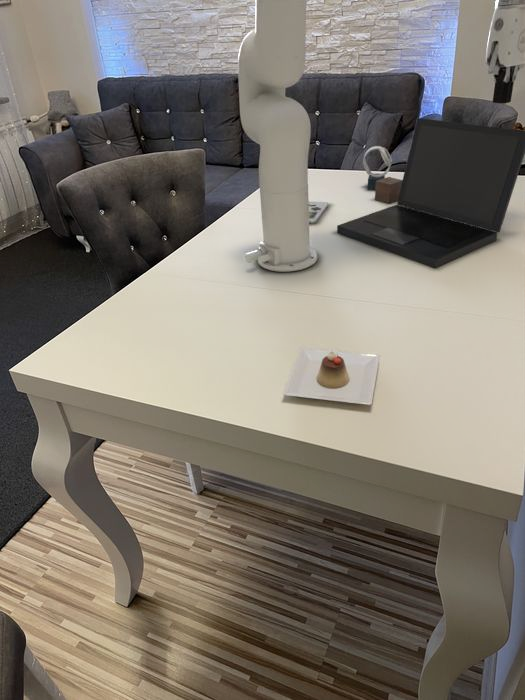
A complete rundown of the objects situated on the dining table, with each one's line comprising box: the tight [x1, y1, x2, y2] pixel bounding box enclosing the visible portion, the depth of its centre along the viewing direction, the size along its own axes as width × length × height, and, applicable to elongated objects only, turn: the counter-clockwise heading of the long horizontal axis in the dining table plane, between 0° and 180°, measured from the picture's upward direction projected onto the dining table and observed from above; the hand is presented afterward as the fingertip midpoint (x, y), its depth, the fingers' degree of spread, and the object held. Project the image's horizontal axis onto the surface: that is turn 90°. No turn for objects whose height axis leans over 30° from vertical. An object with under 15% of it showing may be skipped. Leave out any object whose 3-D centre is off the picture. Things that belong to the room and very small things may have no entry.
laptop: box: [336, 204, 498, 269], centre depth 119 cm, size 20×28×2 cm
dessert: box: [281, 347, 381, 406], centre depth 75 cm, size 12×12×5 cm
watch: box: [362, 145, 393, 191], centre depth 149 cm, size 6×8×11 cm
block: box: [374, 176, 403, 204], centre depth 141 cm, size 5×5×5 cm
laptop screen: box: [396, 117, 525, 233], centre depth 119 cm, size 20×28×1 cm
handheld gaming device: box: [308, 200, 329, 225], centre depth 137 cm, size 9×1×15 cm
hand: (501, 102), depth 112 cm, fingers closed
